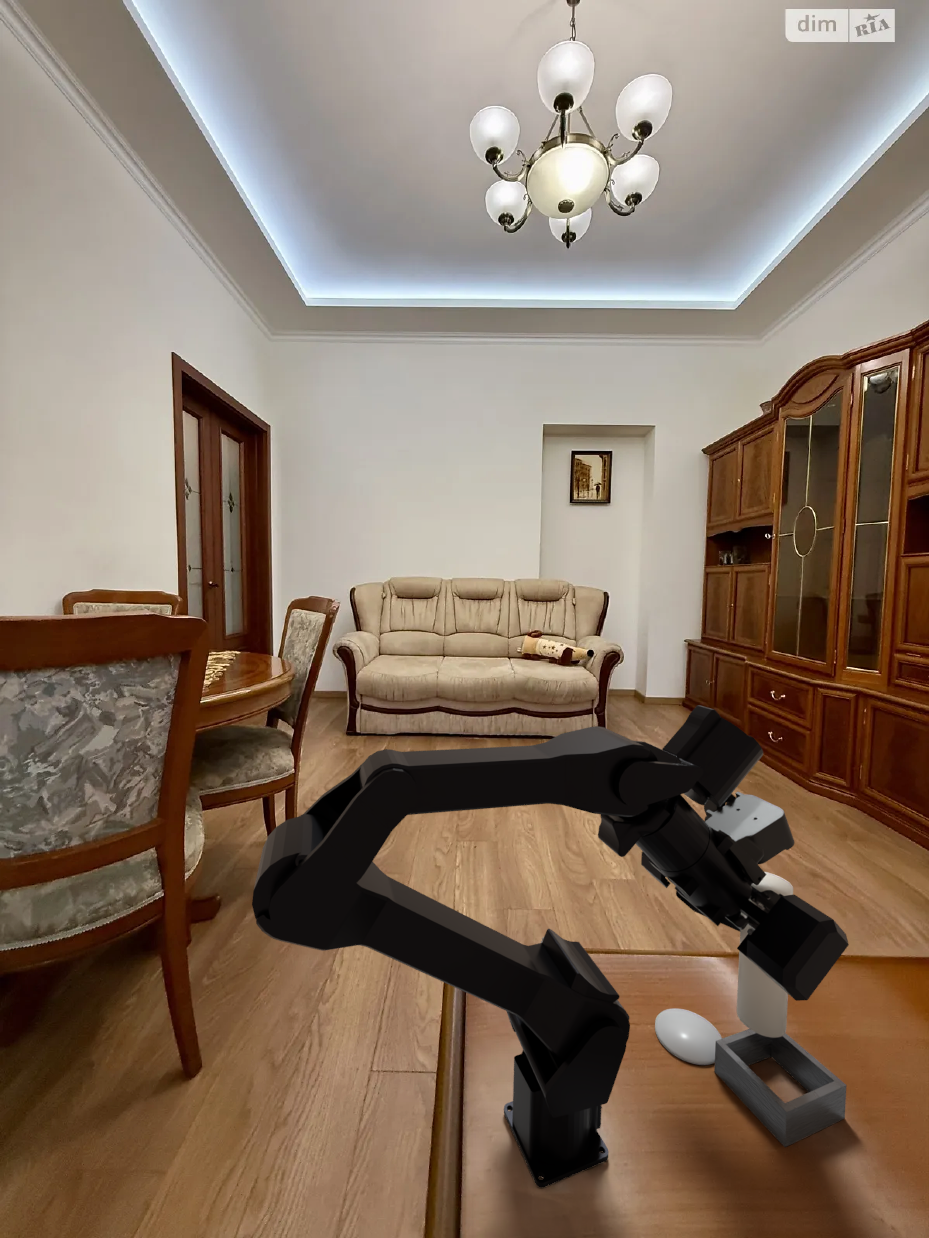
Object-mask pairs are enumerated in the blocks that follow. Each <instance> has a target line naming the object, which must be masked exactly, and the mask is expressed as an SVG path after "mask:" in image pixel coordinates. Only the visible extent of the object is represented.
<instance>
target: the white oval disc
mask: <svg viewBox="0 0 929 1238" xmlns="http://www.w3.org/2000/svg"><path fill="white" fill-rule="evenodd" d="M654 1023H655V1024H654V1030H655V1033H656V1034H655V1035H656V1037H657V1040H658V1041H659V1042H660V1044H661V1045H662V1046H663V1047H664V1048H665V1049H666V1050H667V1051H668V1052H669V1054H671V1055H673V1056H675V1057H677V1058H678V1059H679V1060H682V1061H684V1062H687V1063H689V1064H693V1065H697V1066H698V1065H699V1066H709V1065H713V1064H715V1044H716V1041H717V1040H720V1039H722V1038H723V1037H722V1035H721V1034H720V1031H718V1029H717V1028H716V1027H715V1026H714V1024H712V1022H710V1021H709V1020H707V1018H705V1017H703V1016H701V1015H699V1013H695V1012H694V1011H691V1010H688V1009H683V1008H667V1009H664V1010H662V1011H661V1012H660V1013H658V1015H656V1018H655V1021H654Z"/></svg>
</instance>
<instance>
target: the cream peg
mask: <svg viewBox="0 0 929 1238" xmlns="http://www.w3.org/2000/svg"><path fill="white" fill-rule="evenodd" d="M764 872H765V873H766V876H765V877H764V878H763V879H762V881H761V882H760V883H759V884H758V885H755V884H754V883H752V885H751V886H752V887H754V888H755V889H757V890H758V891H760V892H763V891H765V890H772V891H774V892H775V893H777V894H778V895H779V894H782V895H783V896H787V895H794V886H793V885H792V884H791V882H790V881H788V880H786V879H785V878H783V877H782V876H779V875H777V874H774V873H771V872H768V871H764ZM749 901H751V899H749ZM751 902H752V901H751ZM752 903H754V904H755V902H752ZM759 904H760V905H761V906H762V904H761V903H759ZM755 905H757V904H755ZM762 907H763V906H762ZM741 915H743V916H744V917H745V918H747V916H746V915H744V914H743V913H742V912H741ZM750 928H751V927H750V926H748V925H747V926H746V927H745V928H744V929H743V930H741V929H740V932H739V945H740V944H741V942H742V941H743V940H744V938H745V937H746V936H747V935H748V933H747V931H748V929H750ZM751 929H752V928H751ZM738 951H739V950H738ZM737 970H738V972H737V992H736V993H737V995H736V996H737V997H736V1015H737V1017H738V1019H739V1021H740V1022H741V1023H742V1024H743V1025H744V1026H745V1027H747V1029H751V1030H752V1031H754V1032H756V1033H758V1034H760V1035H763V1036H766V1037H773V1038H776V1037H781V1036H783V1035H784V1034H785V1033H786V1032H787V1020H788V999H789V994H788V993H787V992H785V991H784V990H783V989H782V988H781V987H780V986H779V985H777V984H776V983H775V982H774V981H773V980H772V979H770V978H769V977H768V976H767V975H766V974H765V973H764V972H763V971H762V970H761V969H760V968H759V967H757V966H756V965H755V964H754V963H753V962H752V961H751V960H749V959H748V958H747V957H746V956H745V955H744V954H743V953H741V952H740V951H739V952H738V969H737Z"/></svg>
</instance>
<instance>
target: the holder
mask: <svg viewBox="0 0 929 1238" xmlns="http://www.w3.org/2000/svg"><path fill="white" fill-rule="evenodd" d="M770 1058H772V1059H773V1060H774V1061H775V1062H776V1063H777V1064H778V1065H779V1066H780V1067H781V1068H782V1069H784V1071H786V1072H787V1073H788V1074H789V1075H790V1076H791V1077H792V1078H793V1079H794V1080H795V1081H796V1082H798V1083H799V1084H800V1086H802V1087H803V1088H804V1089H805V1090H806V1091H807V1093H805V1094H802V1095H800V1096H798V1097H795V1098H793V1099H791V1100H789V1101H786V1102H785V1101H783V1099H782V1098H780V1097H779V1096H778V1095H777V1094H776V1092H774V1090H772V1089H771V1088H770V1087H769V1086H768V1084H766V1082H764V1081H763V1079H761V1077H760V1076H758V1075H757V1074H756V1073H755V1072H754V1071H753V1070H752V1069H751V1068H750V1066H751V1065H754V1064H756V1063H758V1062H762V1061H763V1060H766V1059H770ZM713 1069H714V1071H713V1072H714V1073H715V1074H716V1075H717V1076H718V1077H719V1078H720V1079H721V1081H722V1082H723V1083H724V1084H725V1085H726V1086H727V1087H728V1088H729V1089H730V1090H731V1091H732V1093H734V1095H735V1096H736V1097H737V1098H738V1099H739V1100H740V1101H741V1102H742V1103H743V1104H744V1105H745V1107H746V1108H747V1109H748V1110H750V1112H751V1113H752V1114H753V1115H754V1116H755V1117H756V1118H757V1119H758V1120H759V1122H761V1124H762V1125H763V1126H764V1127H766V1129H767V1130H768V1131H769V1133H771V1134H772V1136H773V1137H775V1139H776V1140H778V1142H779V1143H780V1144H781V1145H782V1146H783V1147H784V1148H787V1147H788V1146H790V1145H793V1144H796V1143H797V1142H799V1141H802V1140H804V1139H805V1138H807V1137H809V1136H812V1135H813V1134H815V1133H817V1132H820V1131H821V1130H824V1129H826V1128H828V1127H830V1126H832V1125H834V1124H837V1123H838V1122H840V1121H842V1120H845V1118H846V1104H847V1103H846V1101H847V1100H846V1099H847V1084H846V1083H845V1082H843V1080H842V1079H840V1078H839V1076H837V1075H835V1074H834V1073H833V1072H832V1071H831V1070H830V1069H828V1068H827V1067H826V1066H825V1065H824V1064H823V1063H821V1062H820V1061H819V1060H818V1059H817V1058H816V1057H815V1056H814V1055H812V1054H811V1053H810V1052H808V1051H807V1050H806V1049H805V1048H804V1047H802V1046H801V1045H800V1044H799V1043H798V1042H797V1041H795V1040H794V1038H792V1037H791V1036H790V1035H788V1034H787V1033H786V1032H785V1034H784V1035H783V1036H781V1037H776V1038H773V1037H766V1036H763V1035H760V1034H758V1033H756V1032H754V1031H752V1030H751V1029H749V1028H747V1029H746V1030H742V1031H739V1032H737V1033H734V1034H731V1035H728V1036H726V1037H722V1039H720V1040H717V1041H716V1044H715V1063H714V1068H713Z"/></svg>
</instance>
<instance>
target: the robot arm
mask: <svg viewBox="0 0 929 1238" xmlns="http://www.w3.org/2000/svg"><path fill="white" fill-rule="evenodd" d="M763 756H764V750H763V748H762V746H761V745H760V743H759V742H758V741H757V740H756V739H755V737H753V736H751V735H749V734H747V733H746V732H744V731H743V730H742V729H741V728H739V727H738V726H736V725H735V724H733V722H731V721H729V720H727V719H725V718H724V717H722V716H721V715H720V713H718V711H717V710H716V709H714V708H710V707H708V706H707V707H706V706H703V705H700V704H699V705H696V706H695V707H694V708H693V709H692V711H690V713H689V715H688V716H687V719H686V720H685V721H684V723H683V724H682V725H681V727H680V728H679V729H678V730H677V731H676V732H675V734H673V736H672V737H671V738H670V739H669V740H668V741H667V743H666V744H664V746H663V747H662V748H659V747H657V746H656V745H653V744H651V743H648V742H646V741H643V740H642V741H640V740H634V739H630V738H628V737H626V736H624V735H621V734H619V733H617V732H615V731H612V730H610V729H608V728H606V727H604V726H595V725H593V726H588V727H584V728H581V729H576V730H572V731H568V732H564V733H560V734H558V735H556V736H555V737H553V738H550V739H549V740H547V741H545V742H542V743H537V744H534V745H532V744H531V745H519V746H518V745H517V746H512V745H511V746H498V747H497V746H495V747H494V746H492V747H472V748H470V747H469V748H455V749H453V748H451V749H435V750H434V749H432V750H431V749H429V750H428V749H427V750H410V751H398V750H395V749H388V748H387V749H381V750H378V751H375V752H373V753H372V754H371V755H369V756H368V757H367V758H366V759H365V760H363V762H362V763H361V764H360V765H359V766H358V767H357V768H356V769H355V770H354V771H353V772H352V773H351V774H350V775H348V776H347V777H346V778H344V779H343V780H341V781H340V782H338V783H337V784H335V785H334V786H333V787H332V788H330V789H328V790H326V792H324V793H323V794H322V795H321V796H320V797H319V798H318V799H317V800H315V801H314V803H313V804H312V805H311V806H310V807H309V808H308V809H307V810H306V811H305V812H304V813H302V814H301V815H299V816H295V817H293V818H292V817H291V818H289V819H286V820H285V821H283V822H281V823H280V824H278V825H277V826H276V827H275V828H274V829H273V830H272V831H271V833H270V834H268V836H267V838H266V840H265V842H264V845H263V847H262V851H261V854H260V855H261V856H260V860H259V862H258V863H259V864H258V868H257V875H256V877H255V882H254V886H253V894H252V902H251V906H252V910H253V914H254V917H255V918H254V919H255V922H256V924H255V925H256V926H257V927H258V928H259V929H260V931H261V932H263V933H264V934H265V935H267V936H268V937H269V938H271V939H272V940H273V939H274V940H276V941H279V942H281V943H282V942H283V943H288V944H291V945H295V946H300V947H304V948H308V949H314V950H317V951H322V952H323V951H325V952H326V951H331V950H338V949H342V948H349V947H355V946H359V947H360V946H361V947H365V948H368V949H370V950H372V951H375V952H377V953H379V954H381V955H383V956H386V957H388V958H390V959H392V960H394V961H397V962H399V963H401V964H403V965H405V966H407V967H409V968H412V969H413V970H417V971H418V972H420V973H423V974H425V975H427V976H429V977H431V978H433V979H436V980H438V981H440V982H442V983H444V984H447V985H449V986H451V987H454V988H455V989H458V990H460V991H462V992H464V993H466V994H469V995H471V996H472V997H474V998H478V999H480V1000H481V1001H484V1002H486V1003H488V1004H491V1006H492V1005H493V1006H494V1007H497V1008H500V1009H501V1010H503V1011H505V1013H506V1014H507V1017H508V1020H509V1023H510V1026H511V1029H512V1031H513V1032H514V1033H515V1035H516V1037H517V1039H518V1041H519V1044H520V1046H521V1048H522V1052H521V1053H518V1054H517V1055H515V1056H514V1057H513V1085H512V1087H513V1089H512V1101H508V1102H507V1103H505V1104H504V1107H503V1114H504V1116H505V1119H506V1121H507V1124H508V1126H509V1128H510V1130H511V1133H512V1135H513V1137H514V1139H515V1142H516V1144H517V1146H518V1148H519V1150H520V1153H521V1156H522V1157H523V1159H524V1162H525V1164H526V1166H527V1168H528V1171H529V1172H530V1175H531V1178H532V1180H533V1182H534V1183H535V1185H536V1187H538V1188H540V1189H544V1188H546V1187H549V1186H551V1185H553V1184H556V1183H558V1182H561V1181H562V1180H566V1179H567V1178H570V1177H572V1176H574V1175H577V1174H579V1173H581V1172H584V1171H587V1170H588V1169H591V1168H593V1167H596V1166H598V1165H601V1164H603V1163H605V1162H607V1161H608V1159H609V1149H608V1147H607V1145H606V1144H605V1142H604V1139H603V1138H602V1137H601V1135H600V1133H599V1132H598V1130H599V1129H601V1126H602V1105H606V1104H607V1103H608V1102H609V1099H610V1097H611V1094H612V1092H613V1090H614V1085H615V1082H616V1080H617V1076H618V1075H619V1071H620V1067H621V1066H622V1062H623V1059H624V1056H625V1054H626V1049H627V1043H628V1040H629V1038H630V1037H629V1036H630V1031H631V1029H630V1028H631V1025H630V1015H629V1014H628V1012H627V1011H626V1009H625V1008H624V1006H623V1005H622V1003H620V1001H619V1000H620V994H619V993H618V991H617V990H616V989H615V988H614V986H613V985H612V984H611V982H610V981H609V980H608V978H607V977H606V976H605V974H604V973H603V972H602V970H601V969H600V968H599V966H598V965H597V963H596V962H595V961H594V960H593V959H592V957H591V956H590V954H589V953H588V952H587V951H586V949H585V948H584V947H583V945H582V944H581V943H580V941H570V940H567V939H565V938H563V937H562V936H560V935H559V934H558V933H556V932H555V931H554V930H553V929H551V928H547V929H546V931H545V934H544V936H543V937H544V939H543V941H542V940H541V941H542V943H541V942H540V943H534V944H530V945H527V944H523V943H520V942H519V941H517V940H515V939H513V938H511V937H509V936H507V935H505V934H503V933H502V932H499V931H497V930H495V929H493V928H491V927H490V926H488V925H485V924H484V923H481V922H479V921H477V920H475V919H473V918H471V917H470V916H467V915H465V914H463V913H462V912H459V911H458V910H456V909H454V908H451V907H450V906H447V905H446V904H443V903H442V902H440V901H438V900H436V899H434V898H431V897H429V896H428V895H425V894H424V893H422V892H420V891H418V890H416V889H414V888H412V887H410V886H407V884H404V883H402V882H400V881H398V880H396V879H394V878H392V877H390V876H388V875H387V874H386V873H385V872H383V871H382V870H381V868H379V867H378V865H376V863H374V859H376V857H377V855H378V854H379V852H380V850H381V849H382V847H384V844H385V843H386V841H387V839H388V838H389V837H390V835H391V833H392V832H393V831H394V829H395V828H396V827H398V825H400V823H401V822H402V821H403V820H404V819H405V818H406V817H407V816H410V815H411V816H413V815H414V816H415V815H425V814H426V815H427V814H436V813H438V814H439V813H446V812H447V813H449V812H459V811H460V812H462V811H472V810H485V809H487V810H488V809H498V808H510V807H522V806H534V805H548V804H549V805H557V806H559V805H560V806H565V807H568V808H573V809H575V810H579V811H582V812H587V813H589V814H595V815H600V824H599V826H598V832H597V837H598V839H599V840H600V841H601V842H602V843H604V844H605V846H607V847H608V848H609V849H611V850H612V851H613V852H614V853H615V854H616V855H617V856H619V857H621V858H624V857H626V856H627V855H628V853H629V852H630V851H631V850H632V848H634V846H635V845H636V846H637V847H638V848H639V849H640V850H641V856H640V857H641V861H640V862H641V863H640V864H641V866H642V868H644V869H645V870H646V871H647V872H648V874H649V875H651V876H652V877H653V878H654V879H655V880H656V881H657V882H659V883H660V885H662V886H663V887H664V888H666V889H667V888H668V887H669V886H670V885H671V884H673V885H674V890H675V896H676V897H677V899H679V900H680V901H681V902H682V903H683V904H685V905H686V906H687V907H688V908H690V909H691V910H692V911H693V912H694V913H697V914H699V915H701V916H703V917H706V918H708V920H709V921H711V922H712V923H713V924H714V925H715V926H716V927H719V926H720V924H722V925H724V926H726V927H728V928H731V929H733V930H735V931H737V932H739V933H740V929H741V930H743V929H744V928H745V927H746V926H747V925H748V926H750V927H751V928H752V929H751V928H750V929H748V931H747V933H748V935H747V936H746V937H745V938H744V940H743V941H742V942H741V944H740V943H739V945H738V946H737V950H738V951H740V952H741V953H743V954H744V955H745V956H746V957H747V958H748V959H749V960H751V961H752V962H753V963H754V964H755V965H756V966H757V967H759V968H760V969H761V970H762V971H763V972H764V973H765V974H766V975H767V976H768V977H769V978H770V979H772V980H773V981H774V982H775V983H776V984H777V985H779V986H780V987H781V988H782V989H783V990H784V991H785V992H787V993H788V996H790V998H792V999H793V1000H795V1001H808V1000H809V999H810V998H811V997H812V995H813V993H815V991H816V990H817V988H818V987H819V986H820V984H821V983H822V981H823V980H824V979H825V977H826V976H827V975H828V973H829V972H830V971H831V969H832V968H833V967H834V966H835V964H836V963H837V961H838V960H840V957H841V956H842V955H843V953H845V950H847V947H849V945H850V943H849V941H848V938H847V937H848V936H847V933H845V931H844V929H842V928H841V927H840V925H839V924H838V923H837V922H836V921H835V920H834V919H833V918H832V917H830V916H829V915H827V914H826V913H824V912H823V911H821V910H819V909H817V908H816V907H814V906H813V905H811V904H810V903H809V902H807V901H805V900H804V899H802V898H801V897H799V896H798V895H796V894H793V895H787V896H783V895H782V894H779V895H778V894H777V893H775V892H774V891H772V890H765V891H763V892H760V891H758V890H757V889H755V888H754V887H752V886H751V885H752V883H754V884H755V885H758V884H759V883H760V882H761V881H762V879H763V878H764V877H765V876H766V873H765V872H766V871H764V870H763V868H761V866H760V865H762V864H765V863H766V862H768V861H769V860H771V859H773V858H774V857H776V856H777V855H779V854H781V853H782V852H783V851H785V850H786V851H789V850H790V849H792V848H793V847H794V845H795V844H796V843H795V839H794V836H793V834H792V829H791V827H790V825H789V822H788V819H787V815H786V813H785V811H784V809H783V808H781V807H779V806H778V805H776V804H773V803H771V802H769V801H767V800H764V799H762V798H760V797H759V796H756V795H754V794H745V793H743V792H740V791H737V792H735V790H736V789H737V788H738V787H739V785H740V784H741V783H742V781H743V780H744V779H745V778H746V777H747V776H748V774H749V773H750V771H752V769H753V768H754V767H755V765H756V764H757V763H759V760H761V758H762V757H763ZM733 792H735V793H734V794H735V795H734V794H733ZM683 795H685V797H687V798H688V799H690V800H692V801H693V802H695V803H696V804H698V805H701V806H703V810H704V813H705V817H704V819H703V818H702V817H701V815H700V814H698V812H697V811H696V809H694V808H693V806H692V805H691V804H690V803H689V802H688V801H687V800H686V798H685V797H684V796H683ZM749 899H751V901H752V902H755V904H757V905H755V904H754V903H752V902H751V901H749ZM759 903H761V904H762V906H763V907H762V906H761V905H760V904H759ZM741 912H742V913H743V914H744V915H746V916H747V918H745V917H744V916H743V915H741Z"/></svg>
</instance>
